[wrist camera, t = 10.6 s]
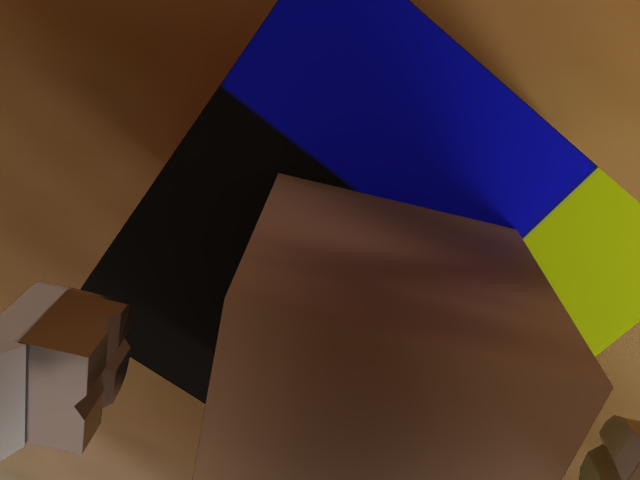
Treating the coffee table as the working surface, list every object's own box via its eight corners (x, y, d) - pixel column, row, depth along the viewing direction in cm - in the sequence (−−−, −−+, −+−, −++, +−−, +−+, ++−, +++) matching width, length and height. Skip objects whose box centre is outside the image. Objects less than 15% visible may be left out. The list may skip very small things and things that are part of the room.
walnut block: (516, 229, 12) (613, 387, 7) (441, 413, 14) (480, 624, 9) (278, 172, 12) (224, 297, 7) (238, 367, 14) (177, 560, 9)
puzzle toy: (344, -48, 19) (327, -72, 10) (558, 140, 21) (709, 265, 12) (184, 178, 22) (63, 314, 13) (379, 319, 25) (390, 520, 15)
